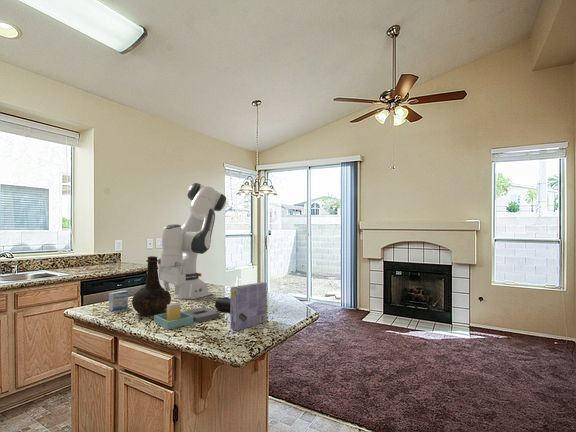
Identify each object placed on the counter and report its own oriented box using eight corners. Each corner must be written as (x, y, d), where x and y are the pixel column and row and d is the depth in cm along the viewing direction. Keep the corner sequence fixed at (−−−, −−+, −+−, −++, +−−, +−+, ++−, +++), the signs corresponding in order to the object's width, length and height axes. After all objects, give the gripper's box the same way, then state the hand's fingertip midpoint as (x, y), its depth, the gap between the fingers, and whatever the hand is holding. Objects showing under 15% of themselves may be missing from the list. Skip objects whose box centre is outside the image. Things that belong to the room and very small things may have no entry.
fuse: (177, 320, 141) (177, 302, 141) (180, 321, 139) (180, 303, 139) (166, 323, 137) (166, 304, 137) (169, 324, 135) (169, 305, 135)
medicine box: (112, 311, 159) (112, 293, 159) (108, 309, 162) (108, 292, 162) (128, 307, 165) (128, 291, 165) (124, 306, 168) (124, 290, 168)
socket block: (204, 312, 156) (204, 307, 156) (219, 318, 146) (219, 312, 146) (181, 317, 148) (181, 311, 148) (196, 323, 138) (196, 318, 138)
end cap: (214, 312, 157) (214, 298, 157) (223, 308, 163) (223, 295, 163) (231, 314, 152) (231, 300, 153) (239, 311, 159) (239, 297, 159)
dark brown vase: (156, 306, 167) (156, 254, 168) (178, 311, 158) (179, 255, 159) (123, 314, 152) (124, 257, 153) (147, 320, 143) (147, 259, 143)
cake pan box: (261, 318, 145) (261, 280, 146) (269, 320, 142) (269, 281, 143) (229, 329, 131) (229, 287, 131) (237, 332, 127) (237, 288, 128)
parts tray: (179, 317, 147) (179, 310, 147) (193, 324, 137) (193, 316, 137) (154, 323, 139) (154, 315, 139) (167, 330, 129) (167, 322, 129)
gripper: (189, 263, 133) (189, 295, 133) (169, 258, 148) (168, 288, 148) (175, 264, 129) (174, 298, 129) (156, 259, 144) (155, 289, 143)
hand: (171, 292), depth 138 cm, fingers open, 8 cm apart
